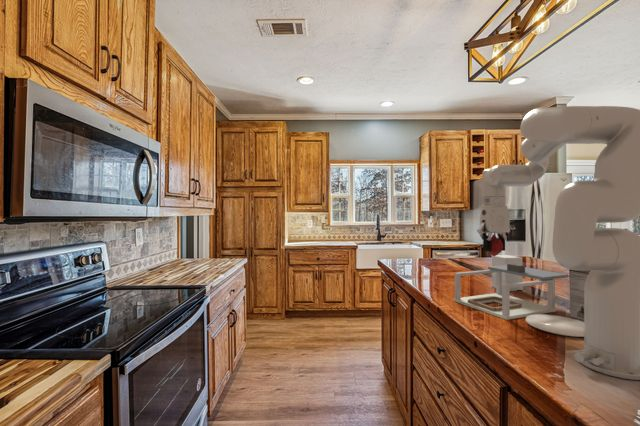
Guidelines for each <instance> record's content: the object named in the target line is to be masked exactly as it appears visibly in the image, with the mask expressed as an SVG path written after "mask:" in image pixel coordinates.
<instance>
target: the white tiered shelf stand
mask: <svg viewBox="0 0 640 426" xmlns="http://www.w3.org/2000/svg"><path fill="white" fill-rule="evenodd" d="M495 272H496V288H495V293H485V294H478V295H472V296H469V295H468V296H463V297H461V295H462V294H461V293H462V292H461V291H462V290H461V287H462V286H461V282H462V281H461V276H463V277H464V276H471V275H473V276H474V275H481V274H482V275H483V274H492V273H495ZM546 284H547V285H546ZM555 284H556V279H550V280H539V279H536V280H529V281H523V282H520V283H511V284H503V285H502V272H500V271H495V270H490V269H482V270H481V269H480V270H473V271H461V272H460V271H459V272H454V298H453V302H455V303H459V304H461V305H464V306H467V307H469V308H472V309H475V310H478V311H480V312H484V313H487V314H489V315H492V316H494V317H497V318H501V319H503V320H506V321H508V320H513V319H518V318H519V319H520V318H526V317H527V316H529V315H535V314H548V313H555V312H557V308H556V303H555V302H556V301H555V300H556V298H555V297H556V296H555V295H556V291H555V290H556V285H555ZM537 285H538V286H539V285H546V286H547V292H546V293H547V305H545V304H540V303H538V302H537V303H536V302H534V301H531V300H527V299H523V298H519V297H516V296H512V295H510V293H511V291H510V288H515V287H530V286H537ZM493 302H494V303H498V304H501V305H502V306H491V305H487V304H488V303H493Z"/></svg>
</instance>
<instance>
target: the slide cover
mask: <svg viewBox="0 0 640 426" xmlns="http://www.w3.org/2000/svg"><path fill="white" fill-rule="evenodd" d="M487 270H495V271H500V272H505V273H510V274H515V275H520V276H523V277H524V278H529V279H530V278H531V279H535V280H550V279H553V280H557V279H565V278H568V277H569V274H567V273H563V272H562V273H561V272H555V271H549V270H543V269H539V268H531V267H527V266H526V265H523V264H522V265H519V264H507V265H502V266H492V265H491V266H487Z"/></svg>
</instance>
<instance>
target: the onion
mask: <svg viewBox="0 0 640 426" xmlns="http://www.w3.org/2000/svg"><path fill="white" fill-rule="evenodd" d="M490 240H491V241H492V251H490V252H489V251H487V253H489V255H491V257H492V256H496V255H500V253H502V250H503V243H502V242H501V240H500V239H498V237H497V234H496V235H495V234H492V235H491V239H490Z"/></svg>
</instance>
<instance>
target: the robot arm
mask: <svg viewBox="0 0 640 426" xmlns="http://www.w3.org/2000/svg"><path fill="white" fill-rule="evenodd" d="M519 128H520V129H519V130H520V134H521V136H522V137H523V138H525V139H524V140H523V141H521V144H520V153H521V154H522V155H523V157H524V158H525V159H527V160H528V162H527V163H525V164H497V165H494V166H492V167H491V168H486V169H484V170H483V171H482V173H481V174H482V175H481V176H482V177H481V178H482V181H481V183H482V186H481V188H482V189H481V191H482V193H481V194H482V195H481V196H482V199H481V202H482V205H481V209H480V215H479V217H480V218H479V227H478V228H477V229H476V233H478V234H479V236H480V238H481V240H482V246H483V247H482V250H483V251H484V252H488V251H489V252H490V251H492V241H491V240H490V239H491V237H492V235H493V234H496V237H497V238H498V239H500V240H501V242H502V243H503V250H502V251H506V240H507V238H508V235H509V234H510V232H511V225H510V214H509V209H508V206H507V205H506V201H507V200H506V195H507V194H506V193H507V192H506V188H507V187H528V186H530V185H533V183H535V182H537V181H538V180H539V179H541V178H542V177H543V176H544V175H545V174H546V172H547V170H548V168H549V165H550V157H551V156H553V155H554V154H555V153H556V152H557V151H559V150H560V149H561V148H562V147H563V146H565V145H566V144H567V145H569V144H571V145H573V144H579V145H580V144H583V145H585V144H586V145H587V144H589V145H590V144H600V145H601V144H603V145H604V144H605V145H606V146H605V147H604V148H603V149H602V150H601V152H600V153H599V155H598V156H597V158H596V161H595V162H594V173H593V179H591V180H589V179H588V180H587V179H586V180H576V181H573V182H571V183H568V184H567V185H565V186H564V187H563V188H562V189H561V191H560V192H559V194H558V195H557V198H556V200H555V207H554V219H553V220H554V221H553V229H552V230H553V232H552V244H551V246H552V253H553V254H552V255H553V257H554V259H555V260H556V262H557V263H558V264H559V265H560V266H561V267H563V268H564V269H566V270H569V269H570V270H579V271H588V270H591V271H590V273H589V275H588V277H587V279H586V282H585V287H584V320H583V322H584V337H583V340H584V341H583V342H584V343H583V349H579V350H576V352H575V354H574V356H573V357H574V359H575V361H577V362H578V363H580V364H582V365H583V366H585V367H586V368H589V369H591V370H593V371H596V372H598V373H601V374H604V375H607V376H611V377H615V378H620V379H626V380H633V381H640V235H639V234H638V233H636V232H634V231H631V230H630V229H629V230H628V229H624V228H621V227H617V228H616V227H600V228H599V227H596V226H597V224H598V223H599V224H600V223H601V224H602V223H603V224H606V223H608V224H609V223H610V224H613V223H614V224H615V223H626V222H630V221H634V220H635V219H638V217H639V216H640V108H639V109H638V108H634V107H629V106H618V105H617V106H616V105H615V106H614V105H611V106H610V105H602V106H601V105H599V106H598V105H597V106H595V105H594V106H593V105H591V106H589V105H573V106H572V105H569V106H568V105H567V106H551V107H550V106H548V107H547V106H546V107H545V106H543V107H541V106H540V107H535V108H534V109H532V110H530V111H529V112H527V113H526V114H525V116H524V117H523V119H522V120H521V123H520V127H519ZM502 251H501V252H502ZM489 252H488V253H489Z"/></svg>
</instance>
